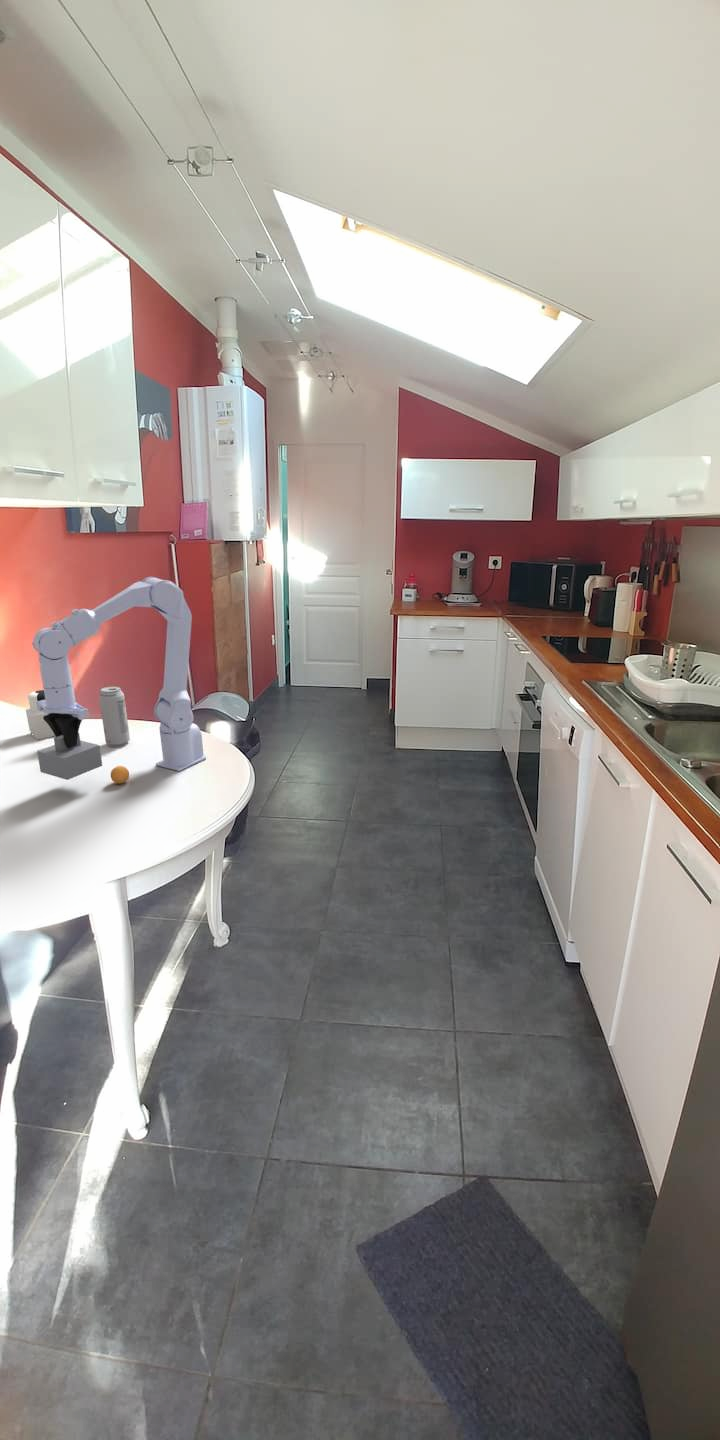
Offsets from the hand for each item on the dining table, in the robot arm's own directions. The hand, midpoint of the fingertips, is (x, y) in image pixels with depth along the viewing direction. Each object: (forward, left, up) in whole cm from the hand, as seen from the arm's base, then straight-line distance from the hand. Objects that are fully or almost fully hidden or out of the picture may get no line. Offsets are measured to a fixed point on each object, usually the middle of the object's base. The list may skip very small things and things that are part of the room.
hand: (68, 745), depth 147 cm
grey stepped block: (0, 0, -6) cm, 6 cm away
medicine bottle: (-20, -39, -11) cm, 45 cm away
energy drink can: (-24, -15, -11) cm, 30 cm away
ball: (-7, +6, -8) cm, 13 cm away
